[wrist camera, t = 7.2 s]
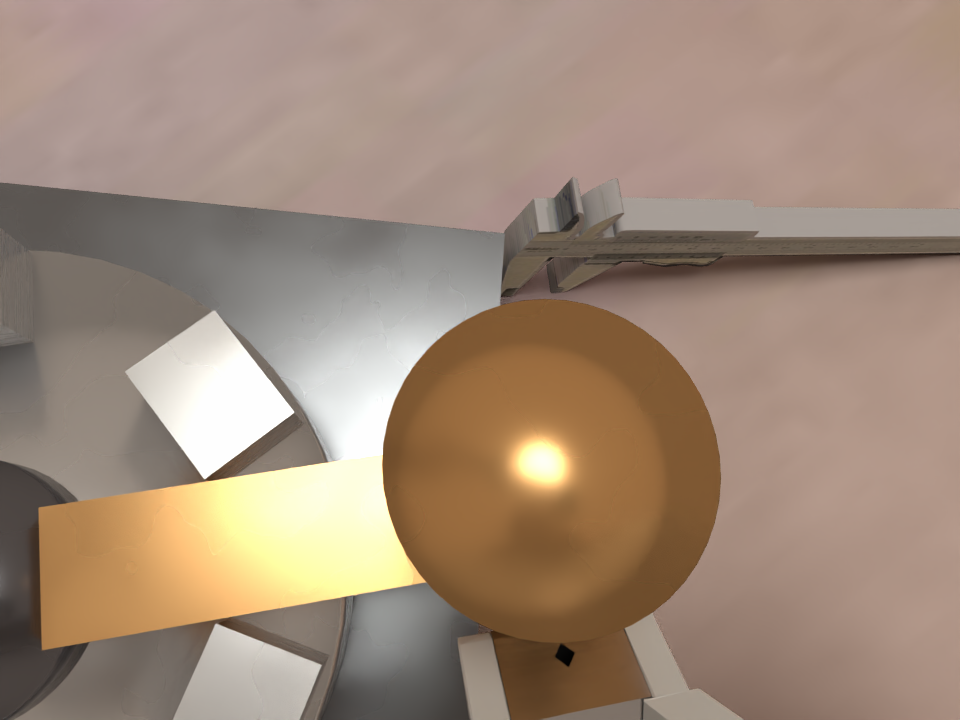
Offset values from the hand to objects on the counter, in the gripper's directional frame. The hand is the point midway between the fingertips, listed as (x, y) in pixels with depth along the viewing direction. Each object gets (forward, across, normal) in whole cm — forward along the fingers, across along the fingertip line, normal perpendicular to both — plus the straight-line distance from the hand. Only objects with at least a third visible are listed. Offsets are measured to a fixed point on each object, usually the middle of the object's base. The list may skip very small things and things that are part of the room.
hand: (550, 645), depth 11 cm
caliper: (+15, -12, +1) cm, 19 cm away
